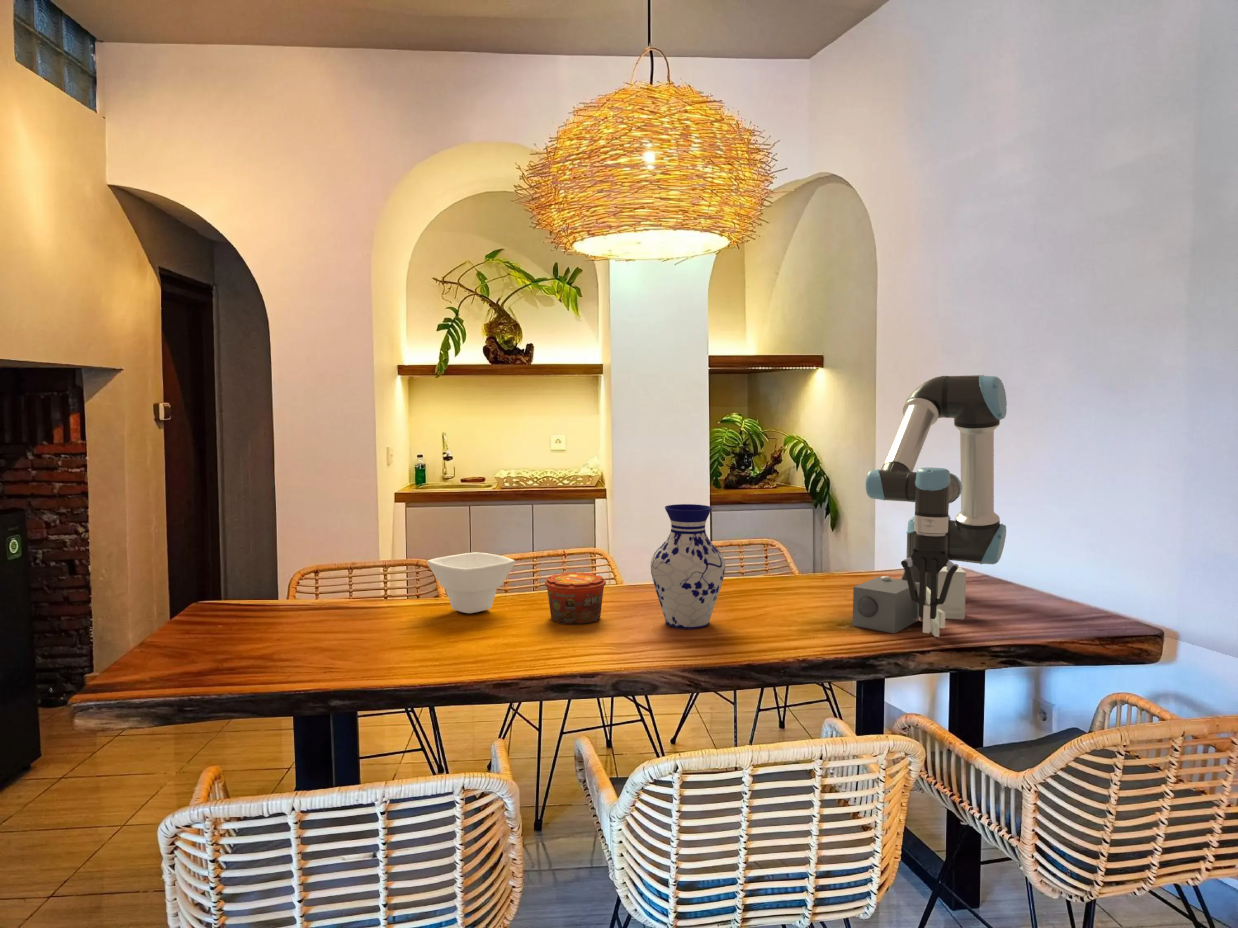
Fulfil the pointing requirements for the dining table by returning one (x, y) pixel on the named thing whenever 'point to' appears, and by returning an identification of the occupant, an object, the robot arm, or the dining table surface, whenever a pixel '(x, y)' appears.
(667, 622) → the vase
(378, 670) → the dining table surface
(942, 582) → the supplement box
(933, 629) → the side door
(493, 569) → the bowl
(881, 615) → the camera box
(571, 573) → the food container
